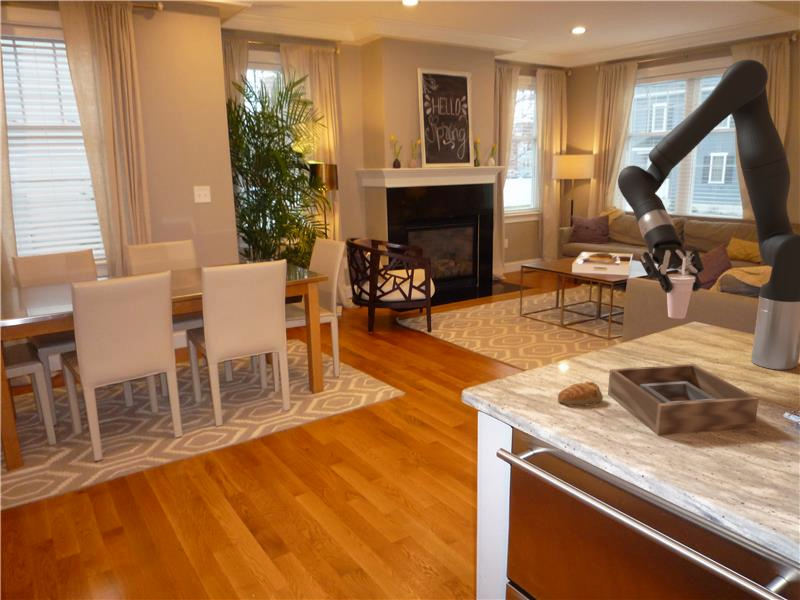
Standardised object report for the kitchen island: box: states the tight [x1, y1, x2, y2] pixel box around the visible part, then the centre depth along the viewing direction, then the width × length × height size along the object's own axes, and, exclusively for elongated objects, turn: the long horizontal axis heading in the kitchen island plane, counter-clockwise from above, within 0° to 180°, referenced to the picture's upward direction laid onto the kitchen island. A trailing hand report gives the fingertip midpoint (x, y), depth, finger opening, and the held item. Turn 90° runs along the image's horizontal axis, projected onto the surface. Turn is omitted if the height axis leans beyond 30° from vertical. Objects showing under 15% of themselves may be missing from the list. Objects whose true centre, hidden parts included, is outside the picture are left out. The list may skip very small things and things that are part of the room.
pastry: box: [557, 381, 604, 406], centre depth 126 cm, size 9×7×4 cm
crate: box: [607, 363, 759, 436], centre depth 120 cm, size 20×20×6 cm
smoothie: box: [666, 258, 695, 320], centre depth 135 cm, size 6×6×14 cm
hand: (683, 290), depth 133 cm, fingers closed on smoothie, 6 cm apart
